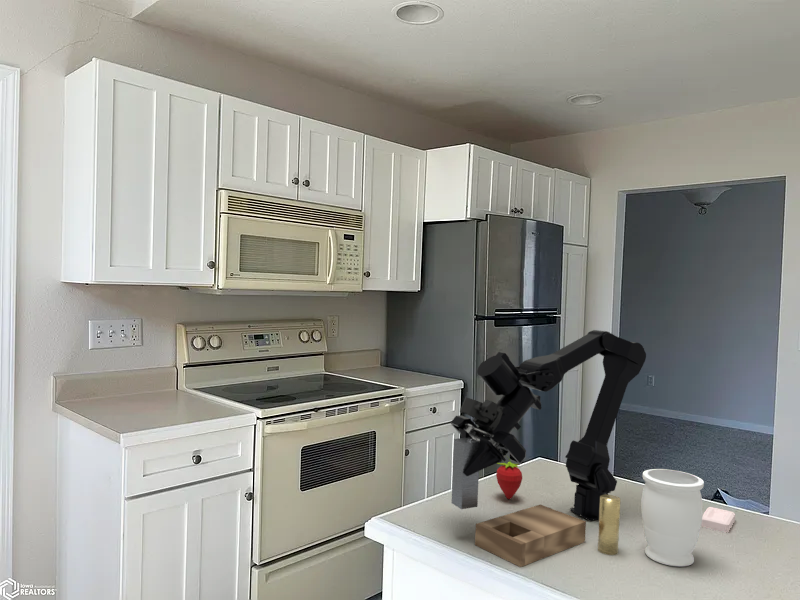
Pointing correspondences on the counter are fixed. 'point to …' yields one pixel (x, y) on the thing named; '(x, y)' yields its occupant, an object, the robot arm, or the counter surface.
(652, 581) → the counter surface
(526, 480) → the counter surface
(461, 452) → the square bit
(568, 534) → the socket block
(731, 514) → the soap bar
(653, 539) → the jar
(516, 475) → the strawberry
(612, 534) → the round bit
